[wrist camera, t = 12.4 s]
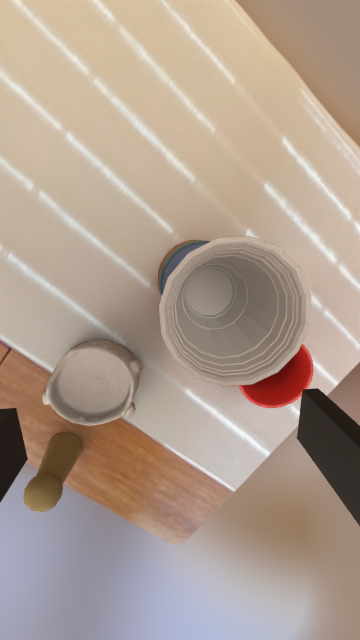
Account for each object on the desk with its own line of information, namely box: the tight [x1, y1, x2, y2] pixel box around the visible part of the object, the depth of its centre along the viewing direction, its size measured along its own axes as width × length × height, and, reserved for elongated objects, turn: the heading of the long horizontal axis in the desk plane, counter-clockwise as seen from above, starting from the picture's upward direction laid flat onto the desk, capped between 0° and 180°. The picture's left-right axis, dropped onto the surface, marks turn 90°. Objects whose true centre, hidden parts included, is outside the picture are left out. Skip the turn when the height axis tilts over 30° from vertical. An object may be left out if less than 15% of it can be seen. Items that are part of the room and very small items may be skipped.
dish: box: [42, 340, 142, 425], centre depth 42 cm, size 14×14×5 cm
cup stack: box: [158, 240, 211, 296], centre depth 35 cm, size 12×12×12 cm
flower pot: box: [239, 344, 313, 408], centre depth 40 cm, size 11×11×10 cm
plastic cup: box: [159, 236, 311, 387], centre depth 24 cm, size 11×11×12 cm
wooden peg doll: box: [24, 433, 83, 512], centre depth 42 cm, size 6×6×11 cm
